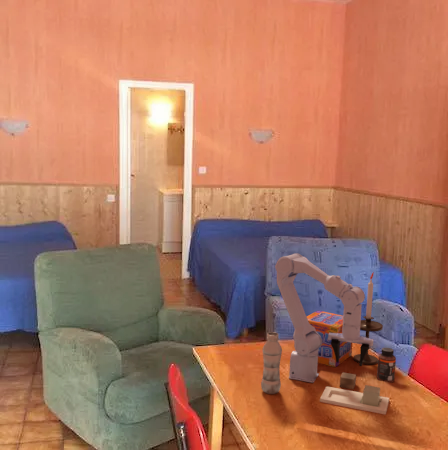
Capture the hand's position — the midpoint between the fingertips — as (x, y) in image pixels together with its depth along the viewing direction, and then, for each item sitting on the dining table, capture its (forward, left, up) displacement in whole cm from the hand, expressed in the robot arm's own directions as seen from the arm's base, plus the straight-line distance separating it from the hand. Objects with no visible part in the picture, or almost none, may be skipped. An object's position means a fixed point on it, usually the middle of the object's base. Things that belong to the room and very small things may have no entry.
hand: (349, 363), depth 185 cm
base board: (+4, -11, -9) cm, 15 cm away
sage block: (+9, -11, -8) cm, 16 cm away
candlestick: (+2, +30, -10) cm, 32 cm away
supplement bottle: (+11, +14, -10) cm, 20 cm away
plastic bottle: (-23, -13, -10) cm, 28 cm away
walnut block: (0, 0, -10) cm, 10 cm away
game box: (-13, +27, -10) cm, 31 cm away
